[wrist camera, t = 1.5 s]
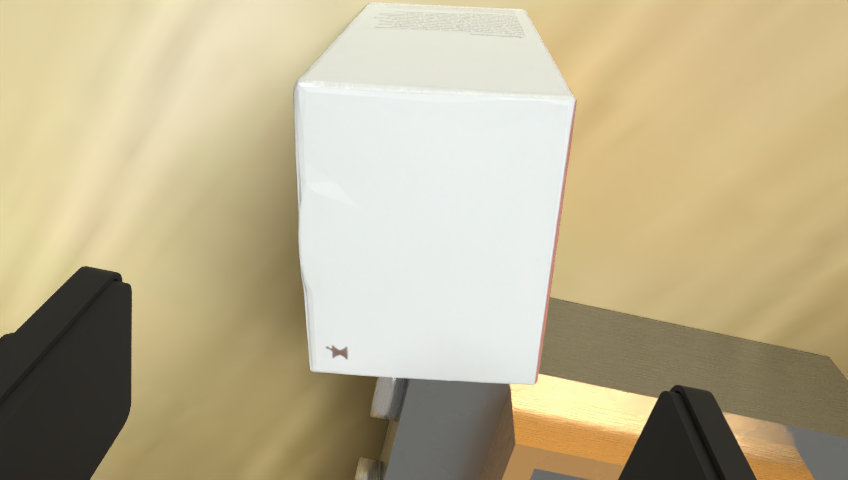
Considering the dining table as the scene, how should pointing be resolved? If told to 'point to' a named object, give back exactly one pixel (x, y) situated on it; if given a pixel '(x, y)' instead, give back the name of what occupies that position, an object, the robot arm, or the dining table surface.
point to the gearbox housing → (613, 406)
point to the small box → (431, 194)
